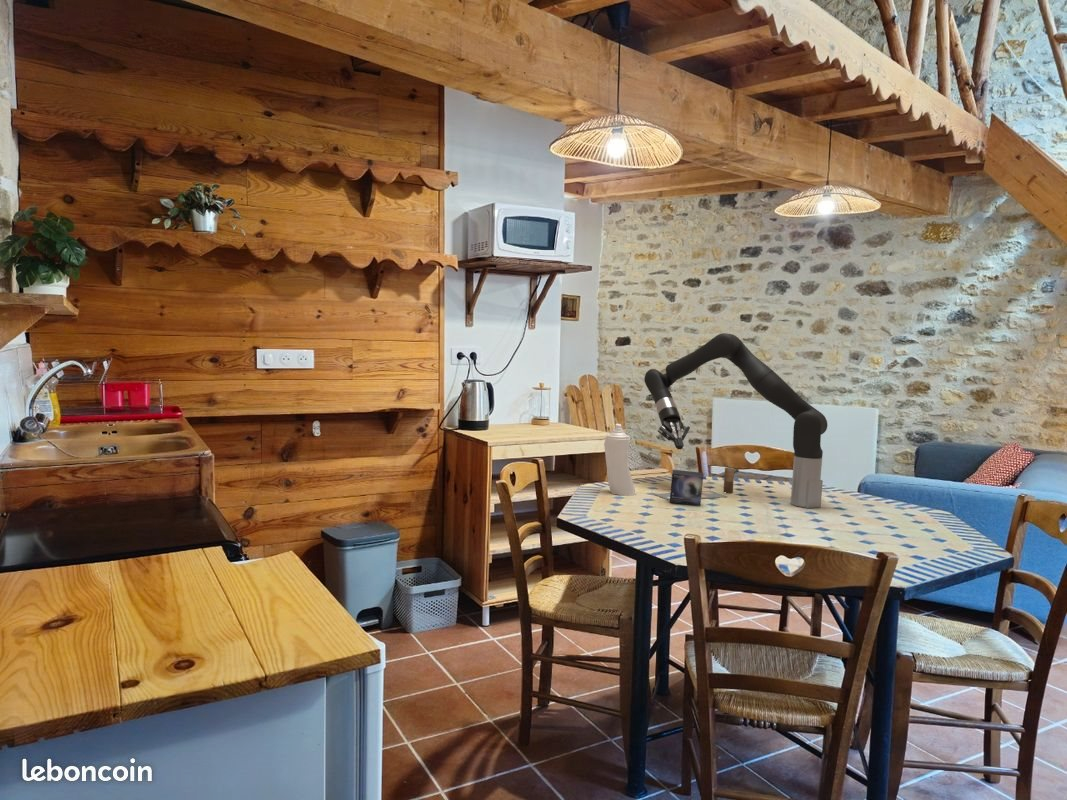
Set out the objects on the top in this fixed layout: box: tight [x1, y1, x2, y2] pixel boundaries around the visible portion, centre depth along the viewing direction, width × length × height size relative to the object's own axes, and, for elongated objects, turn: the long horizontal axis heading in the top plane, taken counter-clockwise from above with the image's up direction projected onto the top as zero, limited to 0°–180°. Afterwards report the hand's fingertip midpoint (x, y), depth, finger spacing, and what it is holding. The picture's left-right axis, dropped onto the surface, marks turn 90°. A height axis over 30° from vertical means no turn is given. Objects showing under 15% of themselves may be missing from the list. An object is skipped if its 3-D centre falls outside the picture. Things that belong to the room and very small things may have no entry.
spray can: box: [603, 423, 637, 497], centre depth 253 cm, size 12×11×25 cm
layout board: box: [653, 490, 728, 502], centre depth 253 cm, size 10×25×1 cm, turn 113°
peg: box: [722, 467, 735, 494], centre depth 262 cm, size 3×3×9 cm
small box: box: [669, 469, 704, 507], centre depth 241 cm, size 11×6×10 cm, turn 77°
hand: (680, 448), depth 258 cm, fingers closed
